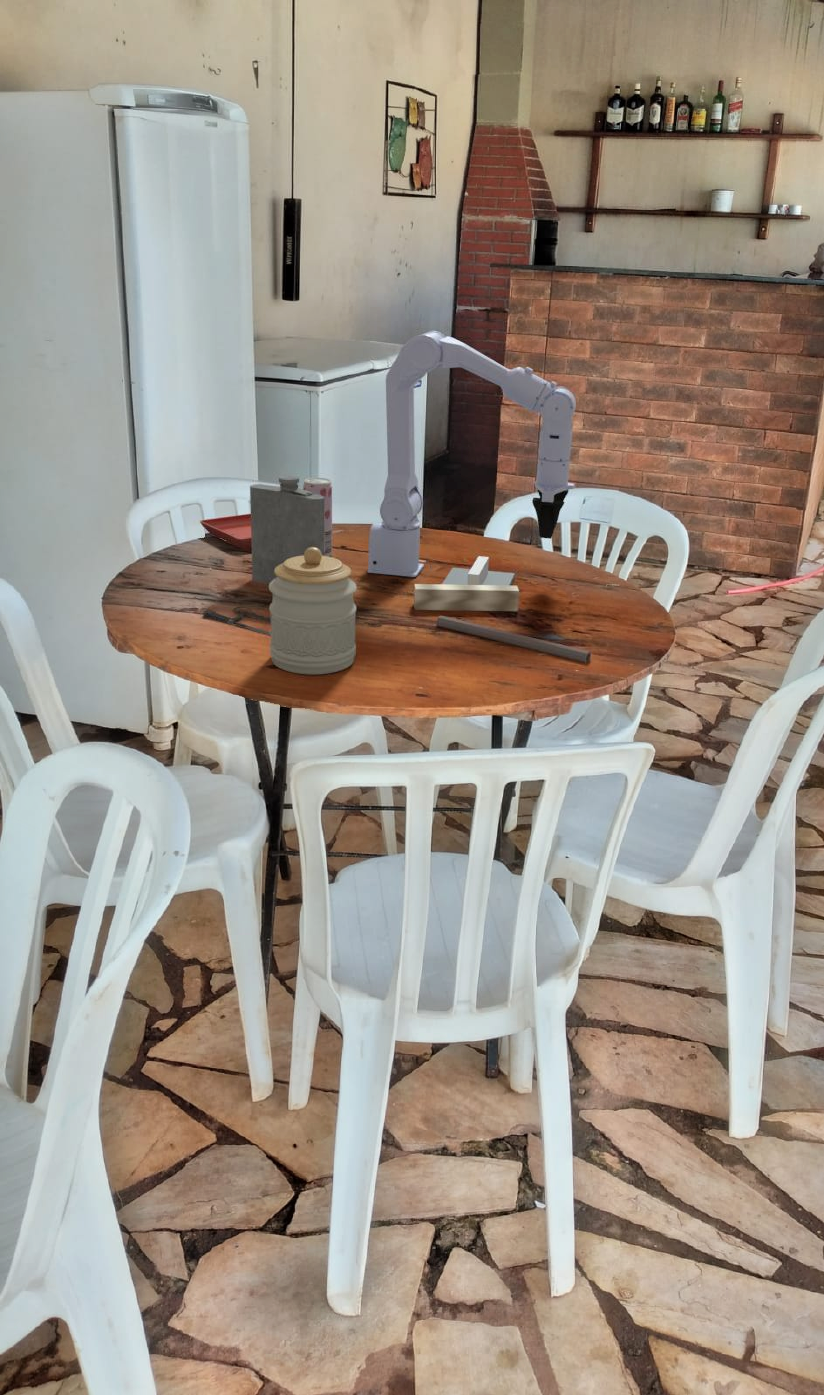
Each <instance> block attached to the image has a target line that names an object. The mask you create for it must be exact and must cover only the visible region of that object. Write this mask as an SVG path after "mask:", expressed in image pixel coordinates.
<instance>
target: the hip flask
mask: <svg viewBox="0 0 824 1395" xmlns="http://www.w3.org/2000/svg"><path fill="white" fill-rule="evenodd" d="M278 482H279V483H280V484H279V486H277V485H269V484H261V483H257V484H250V485H249V490H250V491H249V496H250V497H249V499H250V500H249V502H250V514H251V543H252V549H251V570H252V571H251V574H252V575H251V576H252V577H251V578H252V582H254V583H259V584H265V585H269V584H270V583H271V581H273V580H274V579H275V578H277V576H276V575H275V573H274V570H275V568H276V567H277V566H279V565H280V564H282V563H284V562H285V561H286V560H287V559H289V558H292V557H296V556H304V553H305V551H306V550H307V549H308V548H310V547H316V548H318V549H319V550H320V551H321V554H322V556H324V502H325V497H324V496H321V495H317V494H314V493H312V492H309V491H306V490H303V489H302V488H299V483H300V477H299V476H297V475H281V476H278Z"/></svg>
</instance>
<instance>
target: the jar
mask: <svg viewBox="0 0 824 1395" xmlns="http://www.w3.org/2000/svg"><path fill="white" fill-rule="evenodd" d="M274 573H275V575H276V576H277V578H275V579H274V580H273V581H271V583H270V584H268V589H269V591H270V592H271V594H272V600H271V601H272V602H271V603H270V604H269V608H268V609H269V612H270V618H271V623H270V633H271V636H270V644H269V653H270V656H271V661H272V663H273V664H274V665H275V667H277V668H279V669H281V670H283V671H286V672H290V673H294V674H299V675H300V674H301V675H325V674H327V675H328V674H333V673H336V672H341V671H343V670H345V669H347V668H349V667H350V666H352V664H353V663H354V661H355V656H356V653H357V650H356V649H357V645H356V612H357V605H356V604H355V602H354V594H355V593H356V591H357V589H358V586H357V583H356V582H355V581H354V580H352V579H351V578H349V577H350V576H351V575H352V569H351V568H350V567H349V566H348V565H346V564H344V563H343V562H342V561H341V560H340V559H337V558H335V557H333V556H330V557H328V556H322V554H321V551H320V550H319V549H318V548H316V547H310V548H308V549H307V550H306V551H305V553H304V556H296V557H292V558H289V559H287V560H286V561H285V562H284V563H282V564H280V565H279V566H277V567H276V568H275V570H274Z"/></svg>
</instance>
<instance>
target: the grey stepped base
mask: <svg viewBox="0 0 824 1395" xmlns="http://www.w3.org/2000/svg"><path fill="white" fill-rule="evenodd" d="M489 562H490V556H480V555H478V557H476V560H475V561H474V563H473V564H472V566H471V568H461V567H452V568H451V569H450V571H449V573H447V575H446V577H445V578H444V580H443V582H442V583H441V584H446V585H509V586H513V585H512V584H513V582H514V580H515V577H516V576H515V575H516V574H515V573H513V572H504V571H491V570H489Z"/></svg>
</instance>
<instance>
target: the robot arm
mask: <svg viewBox="0 0 824 1395" xmlns="http://www.w3.org/2000/svg"><path fill="white" fill-rule="evenodd" d="M440 366H441V369H454V368H462V369H464V370H466V371H468V372H470V373H472V374H474V375H476V376H479V377H481V378H482V379H485V380H487V381H489V382H491V383H493V384H494V385H497V386H499V387H500V388H501V390H502V394H503V396H504V398H505V399H507V400H509V401H512V402H513V403H515V404H517V405H519V406H521V407H523V408H525V409H527V410H528V411H530V412H532V413H534V414H538V413H539V414H540V417H541V420H542V421H541V431H540V432H539V441H538V442H539V444H538V456H537V467H536V477H535V478H536V479H535V481H534V487H535V488H536V489H537V494H538V496H539V497H532V505H533V507H534V510H535V514H536V518H537V526H538V527H537V528H538V534H539V538H540V539H552V537H553V535H554V531H555V529H556V526H557V523H558V519H559V516H560V513H561V510H562V509H563V507H564V504H565V499H566V497H567V496H568V494H569V491H570V490H574V488H575V483H571V482H569V476H570V465H571V452H572V445H573V444H572V442H573V432H572V429H573V428H574V427H573V426H574V423H573V416H574V413H575V411H576V407H577V402H576V401H577V400H576V398H575V395H574V393H572V392H571V391H570V390H568V388H567V387H565V386H557V385H558V383H557V382H555V381H553V380H552V381H550V382H548V380H546V379H543V378H542V377H540V376H538V375H536V374H534V373H533V372H534V369H533V368H531V367H529V366H526V367H525V368H523V367H522V366H517V367H514V368H512V369H509V368H507V367H506V366H504V365H502V364H500V363H498V362H497V361H495V360H493V359H491V358H490V357H489V356H487V355H485V354H483V353H481V352H480V351H478V350H476V349H475V348H473V347H471V346H469V345H468V344H466V343H464V342H462V341H460V340H459V339H458V340H457V339H456V338H454V337H452V336H445V335H444V334H443V333H441V332H440V331H438V330H437V331H436V330H429V331H426V332H424V333H423V334H419V335H418V334H417V335H415V336H414V337H412V338H411V339H410V340H408V341H407V342H405V344H403V345H402V346H401V347H400V350H399V352H398V354H397V357H396V358H395V360H394V361H393V363H392V365H391V367H390V369H389V370H388V372H387V374H386V375H385V376H386V377H385V398H386V400H385V403H386V407H385V409H386V411H385V412H386V444H387V453H386V454H387V478H386V481H385V484H384V494H383V495H384V496H383V500H382V502H381V504H380V507H379V514H380V515H379V516H380V518H381V520H382V521H381V522H379V523H378V522H374V523H372V525H371V526H370V529H369V534H368V536H369V537H368V567H367V568H368V569H367V573H369V574H377V575H388V576H398V577H408V578H415V577H418V575H419V573H420V572H421V571H422V569H423V568H424V567H425V564H424V563H421V562H420V543H421V542H420V538H421V537H420V536H421V521H420V520H419V518H418V515H419V514H420V513H421V511H422V509H423V507H424V499H423V495H422V494H421V491H420V490H419V484H418V482H419V480H418V477H417V475H416V472H415V471H416V470H415V469H416V468H415V467H416V462H415V461H416V460H415V458H416V457H415V453H416V452H415V407H414V406H415V400H414V398H415V396H414V393H415V392H414V388H415V386H416V384H418V382H420V381H421V380H422V379H424V377H425V376H427V373H429V372H431V371H433V370H435V369H437V368H438V367H440Z"/></svg>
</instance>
